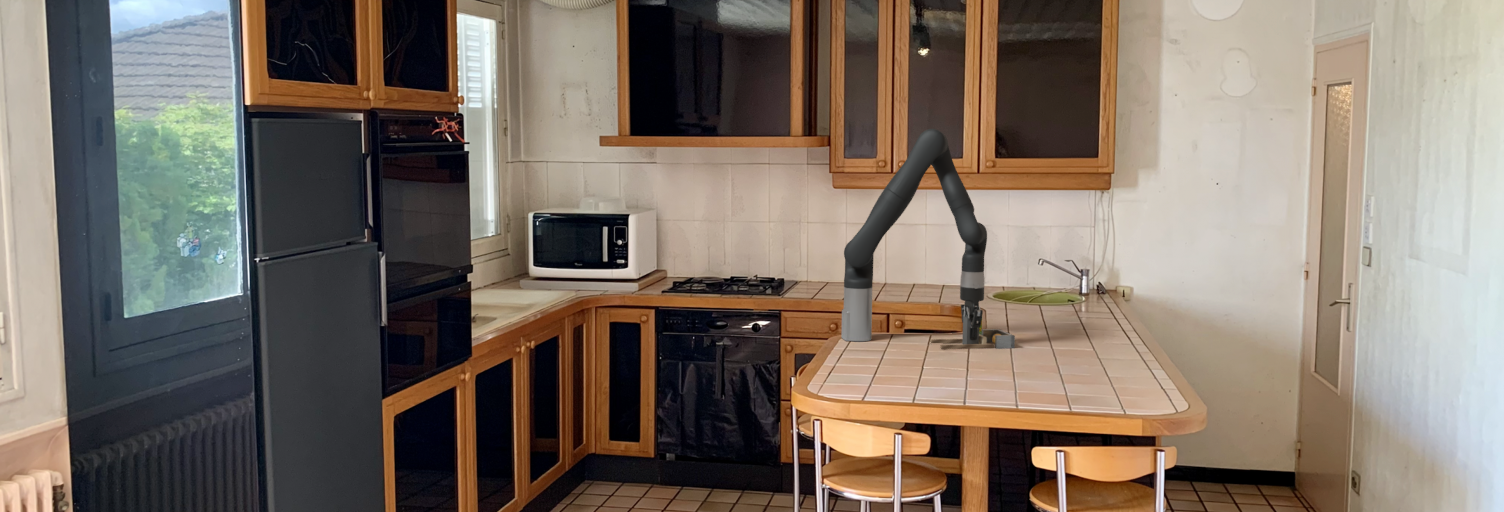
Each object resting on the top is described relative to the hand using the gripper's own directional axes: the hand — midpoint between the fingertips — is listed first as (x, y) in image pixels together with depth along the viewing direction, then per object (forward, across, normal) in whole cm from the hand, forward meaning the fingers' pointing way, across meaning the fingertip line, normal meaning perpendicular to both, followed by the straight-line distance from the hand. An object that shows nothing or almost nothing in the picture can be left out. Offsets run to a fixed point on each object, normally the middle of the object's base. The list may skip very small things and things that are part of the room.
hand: (970, 338), depth 370 cm
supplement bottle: (+2, -18, +8) cm, 20 cm away
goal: (+2, 0, +9) cm, 9 cm away
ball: (0, 0, +9) cm, 9 cm away
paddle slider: (+2, 0, 0) cm, 2 cm away
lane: (+2, 0, -3) cm, 4 cm away
